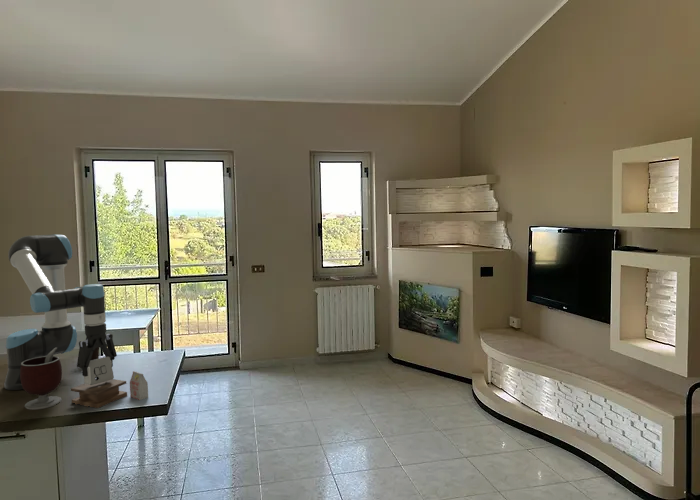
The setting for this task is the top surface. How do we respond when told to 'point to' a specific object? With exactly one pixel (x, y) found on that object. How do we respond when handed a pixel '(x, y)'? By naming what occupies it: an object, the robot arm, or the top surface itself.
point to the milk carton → (138, 386)
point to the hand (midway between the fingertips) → (98, 379)
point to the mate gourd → (41, 380)
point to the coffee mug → (95, 354)
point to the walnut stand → (99, 393)
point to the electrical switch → (101, 370)
